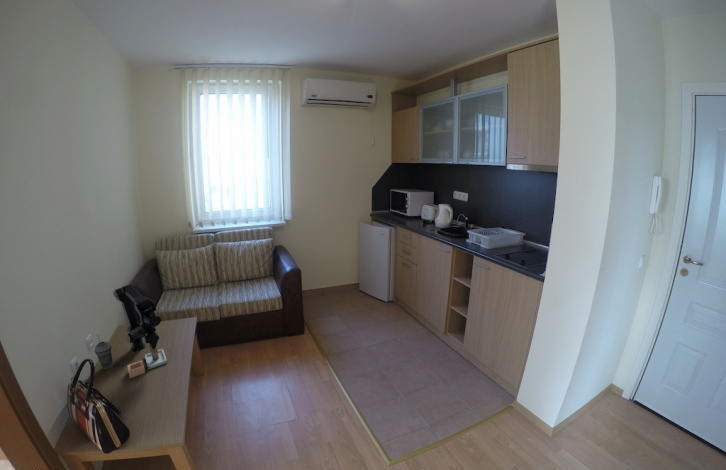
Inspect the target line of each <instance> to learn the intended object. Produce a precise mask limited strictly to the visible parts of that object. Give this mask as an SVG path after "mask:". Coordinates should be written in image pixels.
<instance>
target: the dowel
mask: <svg viewBox="0 0 726 470" xmlns="http://www.w3.org/2000/svg"><path fill="white" fill-rule="evenodd" d="M149 349H150V353H151V354H152V359H153V361H156V360H158V359H159V356H158V351H157V350H158V347H157V346H156V348H155V349H152V347H151V345H150V344H149Z"/></svg>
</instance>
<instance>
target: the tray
mask: <svg viewBox="0 0 726 470" xmlns="http://www.w3.org/2000/svg"><path fill="white" fill-rule="evenodd" d="M157 351H158V356H159V359H158V360H156V361H153V359H152V354H151V352H149V353H146V354H144V358H145V360H146V361H145V362H146V366H147V370H152V369H154V368H155V369H156V368H157V367H159V366H163V365H166V364H168V360H167V357H166V354H165V351H164V348H160V349H157Z"/></svg>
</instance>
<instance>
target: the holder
mask: <svg viewBox="0 0 726 470" xmlns="http://www.w3.org/2000/svg"><path fill="white" fill-rule="evenodd" d="M127 372H128V377H129V379H132V378H134V377H136V376H137V377H138V376H139V375H143V374H145V373H146V369H145V365H144V362H143V359H141V360H138V361H136V362H132V363H130V364H128V365H127Z"/></svg>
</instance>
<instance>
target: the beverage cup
mask: <svg viewBox="0 0 726 470" xmlns="http://www.w3.org/2000/svg"><path fill="white" fill-rule="evenodd" d="M96 337H97V339H98V343H97V344H96V345H95V346H94V353H95V355H96V357H97V359H98V361H99V363H100V365H101V368H102V369H103V370H110V369H111V368H112V367H113V366H114V362H113V361H114V360H113V353H112V345H111V344H110V342H108V341H101V339H100V337H99V334H97V336H96Z"/></svg>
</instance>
